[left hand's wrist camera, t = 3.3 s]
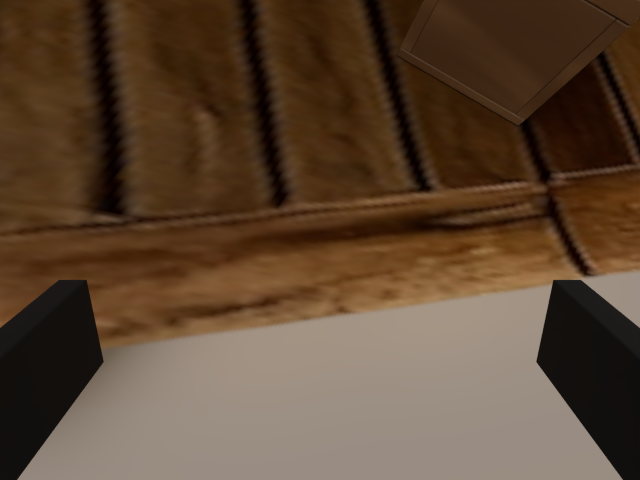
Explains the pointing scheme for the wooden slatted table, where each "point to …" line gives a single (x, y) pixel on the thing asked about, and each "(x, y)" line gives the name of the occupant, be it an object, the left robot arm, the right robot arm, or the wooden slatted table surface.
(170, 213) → the wooden slatted table surface
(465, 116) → the wooden slatted table surface
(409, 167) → the wooden slatted table surface
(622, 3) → the lid
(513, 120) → the chest
